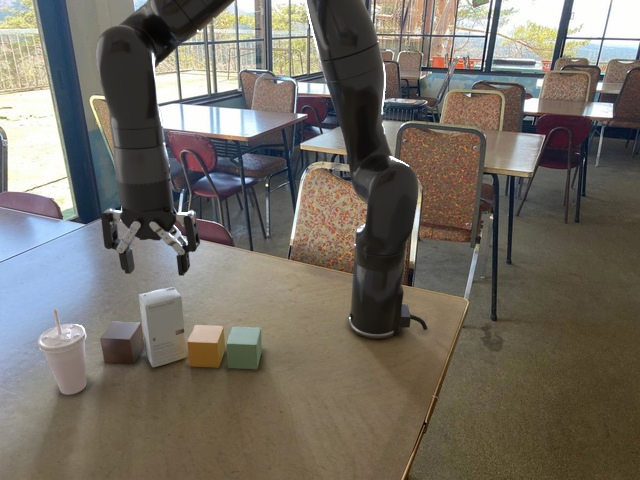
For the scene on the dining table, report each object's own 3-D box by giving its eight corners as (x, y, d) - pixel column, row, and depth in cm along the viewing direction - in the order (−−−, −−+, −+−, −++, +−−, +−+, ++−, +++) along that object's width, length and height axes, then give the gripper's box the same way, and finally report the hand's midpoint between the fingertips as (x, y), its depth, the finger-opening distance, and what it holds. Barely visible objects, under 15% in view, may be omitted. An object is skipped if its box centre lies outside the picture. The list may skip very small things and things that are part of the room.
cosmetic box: (152, 369, 80) (143, 306, 75) (145, 355, 83) (136, 294, 78) (188, 357, 83) (182, 296, 78) (180, 344, 86) (173, 285, 82)
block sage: (261, 351, 85) (261, 327, 83) (257, 369, 81) (256, 344, 79) (233, 350, 85) (232, 326, 83) (227, 368, 81) (226, 343, 79)
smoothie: (83, 368, 80) (68, 294, 74) (103, 385, 76) (88, 309, 70) (43, 387, 75) (23, 311, 70) (62, 407, 71) (43, 328, 66)
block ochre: (225, 349, 85) (223, 326, 83) (218, 367, 81) (217, 343, 79) (197, 348, 85) (195, 324, 83) (189, 366, 81) (186, 341, 79)
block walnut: (144, 346, 86) (141, 322, 84) (133, 364, 81) (129, 339, 79) (116, 345, 86) (112, 321, 84) (104, 362, 81) (99, 338, 79)
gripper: (83, 180, 67) (102, 282, 74) (184, 183, 67) (194, 285, 73) (106, 166, 74) (122, 260, 80) (198, 168, 73) (206, 263, 80)
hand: (156, 272), depth 77 cm, fingers open, 8 cm apart
